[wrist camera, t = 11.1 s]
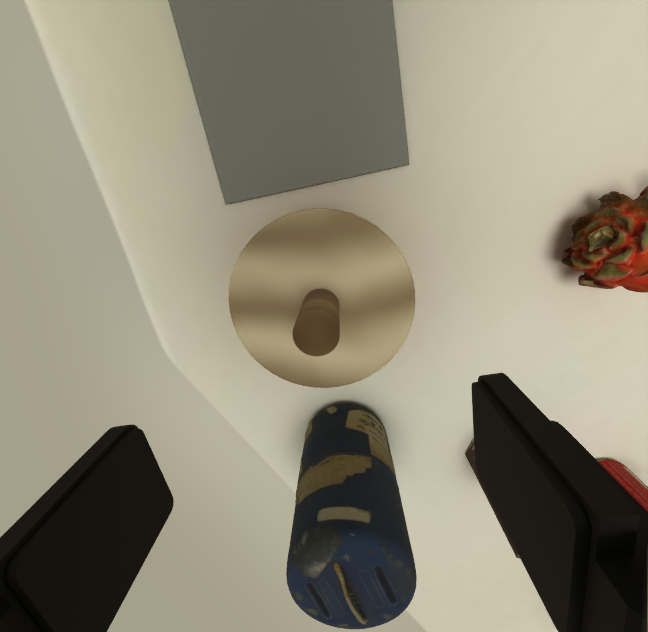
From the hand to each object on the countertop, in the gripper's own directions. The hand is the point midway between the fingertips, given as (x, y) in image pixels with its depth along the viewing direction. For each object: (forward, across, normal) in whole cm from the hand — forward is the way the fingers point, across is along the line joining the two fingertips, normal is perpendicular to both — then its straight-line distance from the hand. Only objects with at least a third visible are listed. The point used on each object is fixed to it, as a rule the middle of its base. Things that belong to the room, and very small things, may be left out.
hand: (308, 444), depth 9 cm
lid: (+18, +1, +2) cm, 19 cm away
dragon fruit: (+25, -26, +1) cm, 36 cm away
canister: (+24, +2, +20) cm, 31 cm away
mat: (+25, 0, -16) cm, 30 cm away
